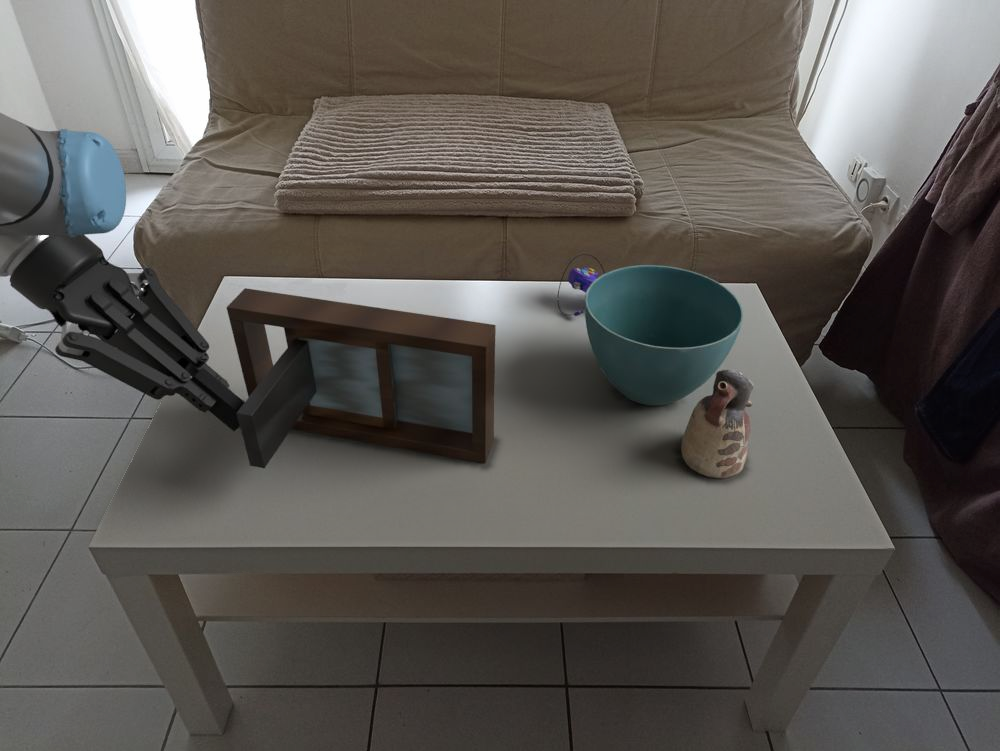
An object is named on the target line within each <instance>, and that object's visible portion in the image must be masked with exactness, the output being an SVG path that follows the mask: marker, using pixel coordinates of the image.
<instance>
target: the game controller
mask: <svg viewBox="0 0 1000 751" xmlns="http://www.w3.org/2000/svg"><path fill="white" fill-rule="evenodd" d="M580 256H589V257H592V258H593V259H595V260H596V261H597V263H598V264H599V265H600V267H601V269H602V271H603V273H602V274H600V276H602V275H604V274H606V273H605V270H604V267H603V265H602V263H601V262H600V261H599V260H598V259H597V258H596V257H595V256H593V255H591V254H587V253H583V254H578V255H576V256H575V257H574V258H573V259H572V260H570V262H569V263H568V265H567V266H566V268H565V269H564V272H563V274H562V277H561V278H560V283H559V285H558V289H557V290H558V291H557V297H559V294H560V289H561V284H562V281H563V278H564V276H565V274H566V271H567V270H568V267H569V266H570V265H571V263H572V262H573V261H574V260H575V259H577V258H578V257H580ZM598 275H599V273H598V272H597V271H596V270H595V269H593V268H592V267H591V268H590V267H583V268H580V267H575V268H572V269H570V271H569V273H568V276H567V279H568V280H567V281H568V283H569V284H570V286H571V288H572V289H573V290H578V291H582V292H584V293H585V294H586V292H587V290H588V288H589V286H590V285H591V284H592V282H593V281H595V280H596V279H597V278H598V277H599V276H598ZM557 307H558V310H559V311H560V313H561V314H562V315H565V316H568V317H569V316H570V317H571V316H574V317H579V316H580V315H581V316H582V315H583V314H584V310H583V309H582V310H577V311H574V312H573V314H566V313H564V312H563V311H562V310H561V308H560V304H559V301H557Z"/></svg>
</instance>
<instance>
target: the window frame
mask: <svg viewBox="0 0 1000 751" xmlns="http://www.w3.org/2000/svg"><path fill="white" fill-rule="evenodd" d="M226 311H227V316H228V319H229V323H230V324H229V325H230V327H231V328H230V329H231V331H232V336H233V340H234V343H235V348H236V352H237V357H238V361H239V364H240V368H241V372H242V377H243V381H244V385H245V389H246V393H247V398H248V397H249V396H250V395H251V394H252V392H253V391H254V390H255V389H256V387H257V386H258V385H259V384H260V382H261V381H262V380H263V378H264V377H265V376H266V375H267V373H268V372H269V371H270V370H271V368H272V367H273V366H274V363H273V359H272V358H273V357H272V354H271V348H270V344H269V339H268V334H267V330H266V326H271V327H279V328H283V329H284V328H291V329H297V330H304V331H310V332H316V333H323V334H329V335H336V336H342V337H349V338H355V339H362V340H368V341H375V342H381V343H388V344H391V354H392V365H393V376H394V388H395V399H396V410H397V422H398V425H397V427H396V429H395V430H394V429H388V428H383V427H377V426H372V425H366V424H360V423H355V422H349V421H343V420H337V419H332V418H326V417H320V416H315V415H309V414H303V413H302V414H301V415H300V417H299V418H298V420H297V421H296V423H295V424H294V426H293V427H292V429H291V430H297V431H302V432H308V433H312V434H313V433H314V434H319V435H324V436H329V437H330V436H331V437H334V438H335V437H336V438H342V439H347V440H351V441H352V440H353V441H357V442H364V443H369V444H375V445H379V446H385V447H390V448H391V447H392V448H397V449H402V450H409V451H414V452H419V453H424V454H430V455H435V456H441V457H448V458H453V459H458V460H459V459H460V460H464V461H469V462H475V463H479V464H480V463H481V464H486V463H487V460H488V457H489V454H490V451H491V449H492V447H493V444H494V443H493V442H494V440H495V392H496V391H495V390H496V388H495V386H496V381H495V380H496V375H495V374H496V327H497V325H496V324H493V323H486V322H478V321H473V320H472V321H471V320H465V319H458V318H452V317H446V316H445V317H443V316H439V315H438V316H437V315H430V314H424V313H417V312H411V311H410V312H409V311H403V310H397V309H391V308H390V309H389V308H384V307H375V306H370V305H369V306H368V305H362V304H355V303H350V302H341V301H335V300H330V299H329V300H328V299H322V298H315V297H307V296H300V295H294V294H287V293H280V292H274V291H267V290H259V289H253V288H247V287H246V288H243V289H242V291H241V292H240V293H239V294H238V295H236V297H234V299H233V300H232V301H231V302H230V303H229V304H228V305H227V306H226Z"/></svg>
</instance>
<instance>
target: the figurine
mask: <svg viewBox="0 0 1000 751" xmlns="http://www.w3.org/2000/svg"><path fill="white" fill-rule="evenodd" d="M754 387H755V386H754V384H753V382H752V381H751V380H750V379H749V378H747V377H746V376H745V375H744V374H743V373H742V372H741V371H740V370H736V369H722V370H717V371H716V372H715V379H714V382H713V386H712V394H711V395H706V396H703V397H702V398H701V399H700V400H699V401H698V402H697V403H696V405H695V407H694V408H693V410H692V413H691V416H690V417H689V420H688V421H687V422H688V423H687V425H686V427H685V430H684V433H683V435H682V438H681V445H680V449H681V456H682V458H683V460H684V462H685V464H686V465H687V466H688V467H689V468H690V469H691V470H692V471H694V472H696V473H698V474H699V475H703V476H704V477H705V476H706V477H709V478H713V479H727V478H730V477H734V476H736V475H738V474H739V473H740V472H741V471H742V470H743V469H744V466H745V464H746V462H747V459H748V454H749V441H750V434H751V422H750V417H749V414H748V413H747V412H746V408H750V407H752V406H753V402H752V401H750V397H751V393H752V391H753V389H754Z"/></svg>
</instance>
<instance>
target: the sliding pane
mask: <svg viewBox="0 0 1000 751" xmlns="http://www.w3.org/2000/svg"><path fill="white" fill-rule="evenodd" d="M283 331H284V336H285V341H286V346H287V348H286V349H285V350H284V352H282V354H281V355H280V357H278V359H277V361H275V363H273V367H272V368H271V370H270V371H269V372H268V373H267V375H266V376H265V377H264V378H263V380H262V381H261V382H260V384H259V385H258V386H257V387H256V389H255V390H254V391H253V392H252V394H251V395H250V396H249V397H248V396H247V399H246V400H245V401H244V402H245V403H244V404H243V405H242V406H241V408H240V409H239V410H238V411H237V413H236V414H237V417H238V421H239V425H240V427H239V428H240V433H241V436H242V440H243V445H244V447H245V451H246V456H247V459H248V463H249V466H250V467H255V468H260V469H266V467H267V465H268V464H269V463H270V461H271V460H272V458H273V457H274V455H275V454H276V452H278V449H279V448H280V447H281V445H282V444H283V442H284V440H286V438H287V436H288V435H289V433H290V432H291V431H292V430H293V429H292V427H293V426H294V424H295V423H296V421H297V420H298V418H299V417H300V415H301V414H302V413H303V414H309V415H315V416H320V417H326V418H332V419H337V420H343V421H349V422H355V423H360V424H366V425H372V426H377V427H383V428H388V429H394V430H395V429H396V427H397V425H398V422H397V410H396V399H395V388H394V376H393V365H392V354H391V344H388V343H381V342H375V341H368V340H362V339H355V338H349V337H342V336H336V335H329V334H323V333H316V332H310V331H304V330H297V329H291V328H284V327H283Z"/></svg>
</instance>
